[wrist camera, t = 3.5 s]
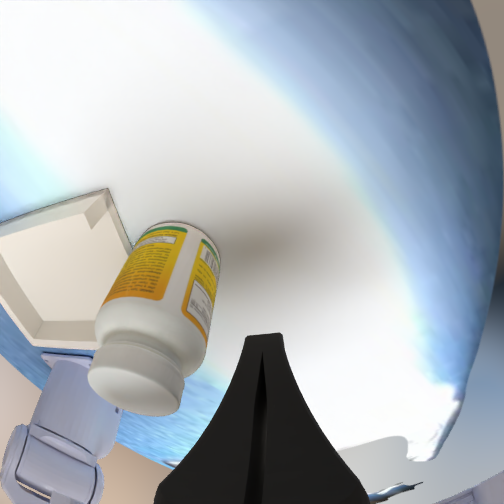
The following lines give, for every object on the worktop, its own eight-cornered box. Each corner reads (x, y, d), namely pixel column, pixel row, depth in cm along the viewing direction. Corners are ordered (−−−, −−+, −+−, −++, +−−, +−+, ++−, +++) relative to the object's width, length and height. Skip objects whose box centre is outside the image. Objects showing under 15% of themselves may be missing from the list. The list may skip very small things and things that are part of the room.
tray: (165, 319, 22) (156, 350, 19) (46, 322, 23) (33, 345, 21) (107, 188, 16) (83, 212, 13) (-12, 227, 17) (-33, 248, 15)
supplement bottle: (238, 248, 18) (223, 398, 10) (195, 301, 20) (169, 432, 13) (157, 202, 16) (81, 336, 8) (125, 264, 19) (67, 388, 11)
